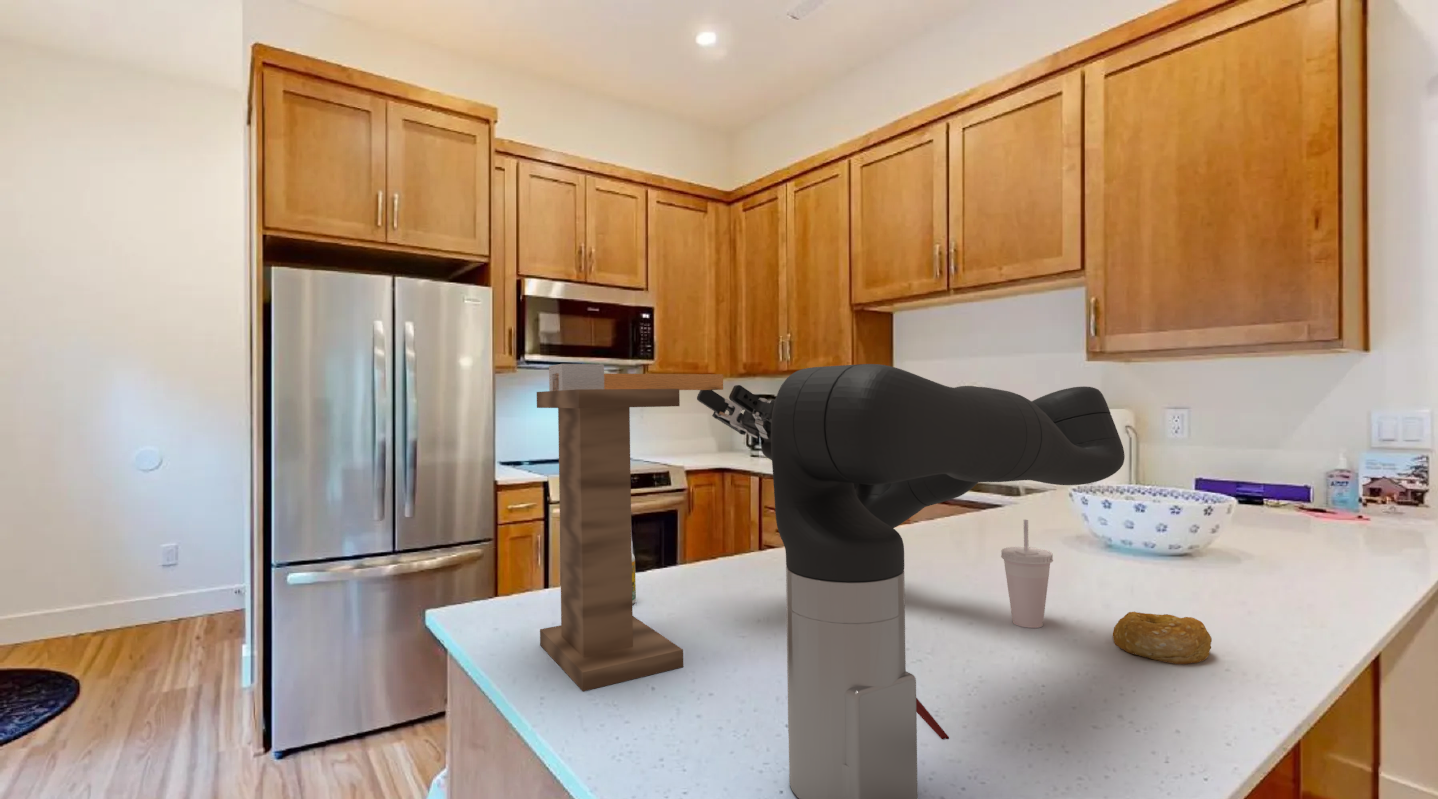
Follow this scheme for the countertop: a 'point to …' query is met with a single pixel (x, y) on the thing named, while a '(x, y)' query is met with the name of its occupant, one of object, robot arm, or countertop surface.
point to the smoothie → (1027, 581)
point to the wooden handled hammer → (626, 379)
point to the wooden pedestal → (600, 541)
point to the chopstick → (930, 720)
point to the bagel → (1163, 637)
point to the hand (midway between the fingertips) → (716, 391)
